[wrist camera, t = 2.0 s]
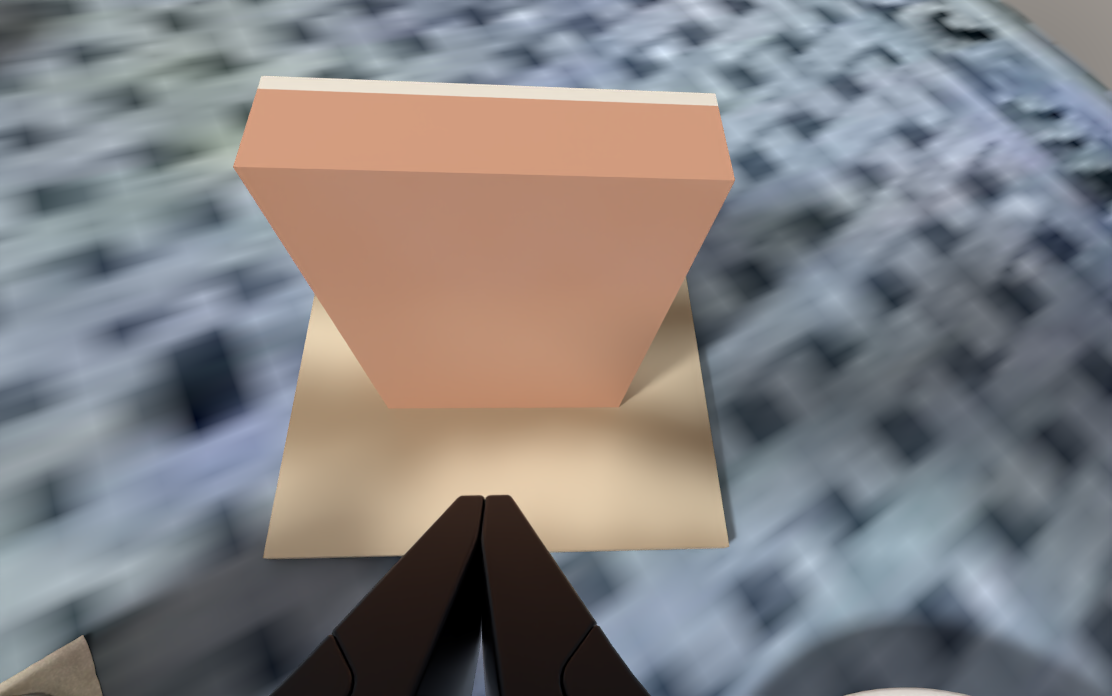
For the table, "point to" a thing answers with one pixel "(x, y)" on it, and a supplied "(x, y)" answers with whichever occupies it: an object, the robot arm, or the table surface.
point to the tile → (488, 227)
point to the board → (498, 459)
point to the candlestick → (906, 692)
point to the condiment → (57, 674)
